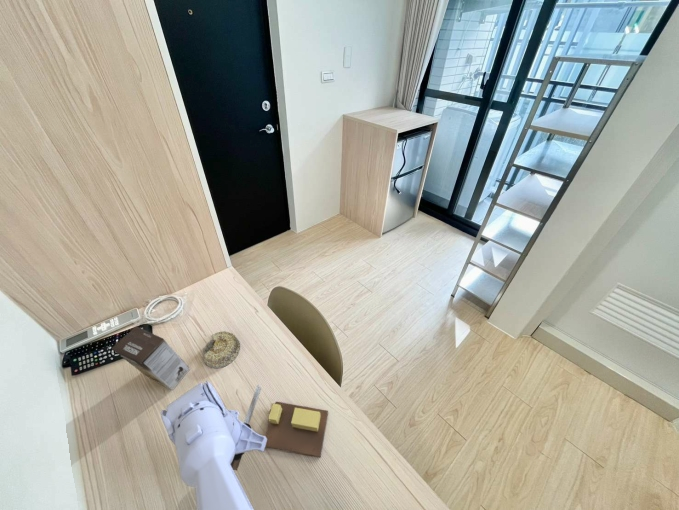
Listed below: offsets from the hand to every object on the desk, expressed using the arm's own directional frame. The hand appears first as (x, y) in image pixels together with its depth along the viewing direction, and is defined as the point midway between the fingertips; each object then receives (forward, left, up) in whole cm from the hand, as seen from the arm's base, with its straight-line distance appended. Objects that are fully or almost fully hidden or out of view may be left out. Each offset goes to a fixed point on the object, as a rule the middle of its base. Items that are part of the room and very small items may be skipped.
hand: (237, 446), depth 53 cm
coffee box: (+13, +27, -8) cm, 32 cm away
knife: (+4, 0, -2) cm, 4 cm away
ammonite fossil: (+21, +16, -8) cm, 28 cm away
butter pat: (+8, -4, -7) cm, 11 cm away
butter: (+8, -12, -6) cm, 15 cm away
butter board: (+6, -10, -8) cm, 14 cm away
